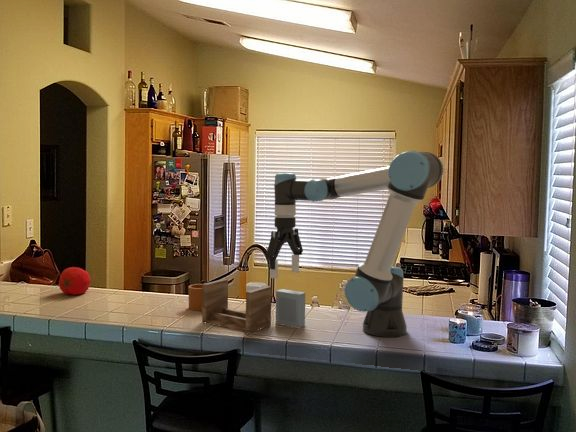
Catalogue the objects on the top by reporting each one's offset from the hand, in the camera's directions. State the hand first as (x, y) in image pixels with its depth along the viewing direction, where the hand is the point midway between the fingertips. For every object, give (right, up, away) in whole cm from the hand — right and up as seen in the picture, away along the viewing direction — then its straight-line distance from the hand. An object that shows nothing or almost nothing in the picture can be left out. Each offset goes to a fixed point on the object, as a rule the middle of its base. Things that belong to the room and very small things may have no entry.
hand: (284, 275), depth 212 cm
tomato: (-91, -13, +43) cm, 101 cm away
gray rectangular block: (+2, -18, 0) cm, 18 cm away
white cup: (-12, -16, +21) cm, 29 cm away
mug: (-32, -16, +21) cm, 42 cm away
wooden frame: (-17, -17, 0) cm, 25 cm away
